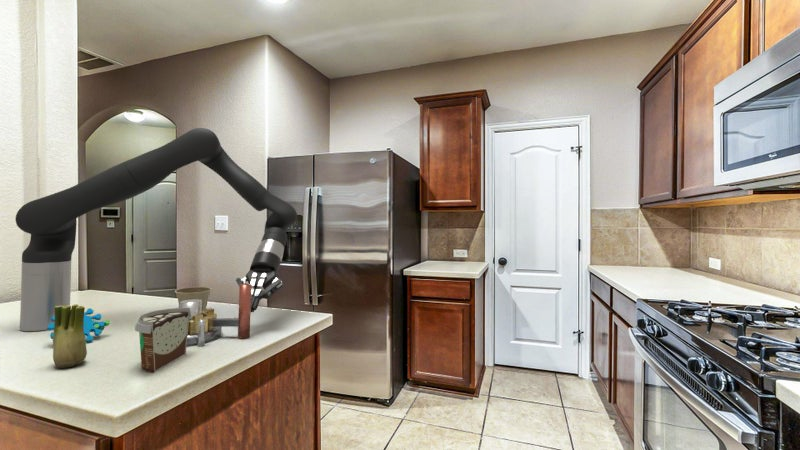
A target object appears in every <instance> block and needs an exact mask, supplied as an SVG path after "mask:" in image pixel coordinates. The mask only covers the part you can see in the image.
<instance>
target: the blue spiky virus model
mask: <svg viewBox="0 0 800 450" xmlns="http://www.w3.org/2000/svg"><path fill="white" fill-rule="evenodd" d="M94 311H95V310H94V309H93V308H87V310H86V311H84V335H85V340H86V343H90V342H93V340H94V336H95V337H99V336H100V335H102V333H103V331H104V330H105V327H108V326H109V325H110V324H111V320H110V319H106V320H105V321H103V320H102V314H101V313H96V314H95V315H92V314H94ZM91 315H92V316H91ZM100 320H102V321H100ZM51 321H53V322H55V316H53V317H52V318H51ZM46 331H51V332H50V335H49V337H50V339H51V340H53V335H54V324H53V323H50V324H49V325H48V328H47V330H46ZM91 333H94V336H92V335H91Z"/></svg>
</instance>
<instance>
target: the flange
mask: <svg viewBox="0 0 800 450" xmlns="http://www.w3.org/2000/svg"><path fill="white" fill-rule="evenodd" d="M180 308H190V311H191V317H189V320H193V315H198V314H201V309H202V300H198V299H191V300H184V301H181V302H180ZM222 328H223V327H215V328H213V329H212V330H211V331H208V332H205V319H200V320H198V334H194V335H187V346H186V347H192V346H193V347H194V346H197V347H198V348H199V347H204V346H205V344H207V343H210V342H213V341H216V340H217V339H219V338H220V337H221V336H222V331H223V330H222Z"/></svg>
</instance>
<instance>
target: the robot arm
mask: <svg viewBox="0 0 800 450" xmlns="http://www.w3.org/2000/svg"><path fill="white" fill-rule="evenodd" d="M196 162H200V163H201V164H203V165H204V166H206V167H207V168H209V169H210V170H211V171H212V172H214V173H216V174H217V175H218V176H219V177H220V178H222V179H223V180H224V181H225V182H226V183H227V184H228V185H229V186H230V187H231V188H232V189H233V190H234V191H235V192H236V193H237V194H238V195H239V196H240V197H241V198H242V199H244V201H245V202H247V203H248V204H249V206H251V207H252V208H253V209H254V210H255V211H257V212H261V211H262V212H263V211H264V210H268V211H270V212H272V213H270V214H269V216H268V217H267V219H266V221H265V224H264V229H263V230H264V232H263V236H262V238H261V240H260V243H259V245H258V247H257V249H256V251H255V254H254V256H253V258H252V261H251V264H250V268H249V271H248V272H247V273H246V274H245V276H244V277H242V278H240V277H237V278H236V279H235V281H236V283H237V285H238V287H239V285H240V284H251V313H254V312H255V311H256V310H257V309H258V307H259V305H260V301H261V300H262V299H265V300H267V299H269V298H270V297H271V296H273V295H274V294H276V293H277V291H279V290H280V289H281V288H283V286H284V285H283V284H284V283H283V281H282V280H281V278H278V272H279V269H280V266H281V263H282V260H283V257H284V252H285V248H286V247H285V246H286V244H287V240H288V234H287V232H286V231H287V230H288V229H289V228H290V227H291V226H292V225H294V224H295V223H296V221H297V219H298V213H297V211H296V209H295V207H293V206H292V205H291V204H290V203H288V202H286V201H285V200H283V199H281V198H279V197H278V196H276V195H274V194H272V193H271V192H270V191H269V190H268V188H266V187H265V186H264V185H263V184H262V183H261V182H259V181H258V180H257V178H255V177H253V176H252V175H251V174H250V173H248V172H247V171H245V170H244V169H243V168H242V167H240V166H239V165H238V164H237V163H236V162H235V161H234V160H233V159H232V158H231V157H230V155H229V154H228V153H227V152H226V150H225V149H224V148H223V146H222V144H221V141H220V140H219V138H218V136H217V134H215V132H214V131H212V130H210V129H208V128H206V127H197V128H196V127H195V128H192V129H190V130H188V131H187V132H184V133H182V135H180V136H179V137H178V136H177V138H175V139H172V141H170V142H167V143H166V144H164V145H162V146H159V147H157V148H155V149H151V150H149V151H147V152H145V153H142V154H140V155H137V156H135V157H133V158H130V159H127V160H125V161H123V162H120V163H118V164H116V165H114V166H112V167H109V168H108V169H105V170H103V171H102V172H99V173H97V174H95V175H93V176H91V177H89V178H87V179H85V180H83V181H81V182H79V183H77V184H75V185H73V186H71V187H69V188H66V189H63V190H60V191H57V192H55V193H52V194H48V195H46V196H43V197H40V198H37V199H33V200H31V201H29V202H27V203H24V204H23V205H22V206H21V207H20V208H19V209H18V210H17V212H16V215H15V223H16V226H17V227H18V229H20V230H21V231H23V232H24V233H26V234H30V241H29V243H28V245H27V246H26V248H25V249H24V250H23V251H22V253H21V278H20V279H21V281H20V282H21V283H20V284H21V285H20V315H19V330H20V331H23V332H38V331H40V332H41V331H48V330H47V328H48V325H49V324H50V323H53V324H54V323H55V322H53V321H51V318H52V317H53V316H55V311H54V310H55V306H61V305H63V306H68V305H70V306H71V288H72V287H71V285H72V281H71V280H72V255H73V252H74V250H75V248H76V247H75V246H76V239H77V226H78V225H77V223H78V222H77V219H78V218H80V217H81V216H84V215H85V214H87V213H90V212H92V211H96V210H98V209H100V208H101V209H102V208H104V207H107V206H111V205H114V204H115V205H116V204H118V203H122V202H124V201H127V200H130V199H132V198H135V197H137V196H138V195H141V194H143V193H145V192H146V191H149V190H150V189H152V188H154V187H156V186H157V185H159V184H160V183H162V182H163V181H164V180H166V179H167V178H168V177H169V176H170V175H171V174H172V173H174V172H175V171H177V170H179V169H181V168H183V167H186V166H187V165H190V164H192V163H193V164H194V163H196ZM247 282H248V283H247Z"/></svg>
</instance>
